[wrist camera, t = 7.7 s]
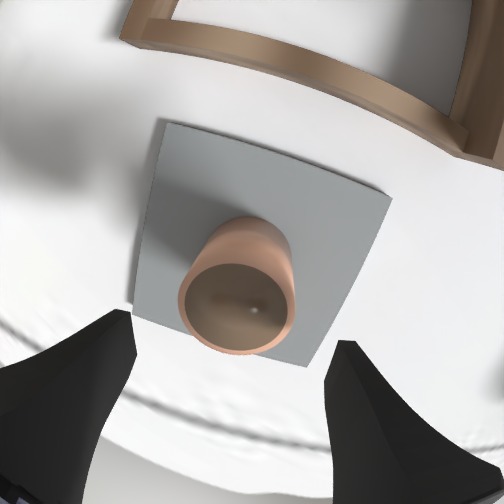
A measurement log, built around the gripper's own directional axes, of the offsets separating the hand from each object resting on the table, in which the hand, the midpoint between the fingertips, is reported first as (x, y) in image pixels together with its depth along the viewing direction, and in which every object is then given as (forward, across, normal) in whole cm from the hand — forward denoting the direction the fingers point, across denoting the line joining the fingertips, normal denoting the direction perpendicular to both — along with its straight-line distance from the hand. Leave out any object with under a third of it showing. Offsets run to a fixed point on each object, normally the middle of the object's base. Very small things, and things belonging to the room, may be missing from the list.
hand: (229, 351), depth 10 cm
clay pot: (+7, 0, 0) cm, 7 cm away
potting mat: (+8, 0, 0) cm, 8 cm away
